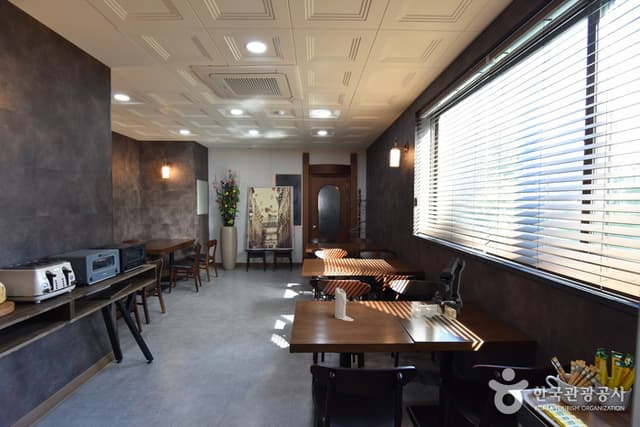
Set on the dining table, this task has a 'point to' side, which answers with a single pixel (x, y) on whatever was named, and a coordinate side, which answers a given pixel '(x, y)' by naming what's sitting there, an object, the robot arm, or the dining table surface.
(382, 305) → the dining table surface
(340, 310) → the white boot
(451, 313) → the rail
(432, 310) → the headboard
